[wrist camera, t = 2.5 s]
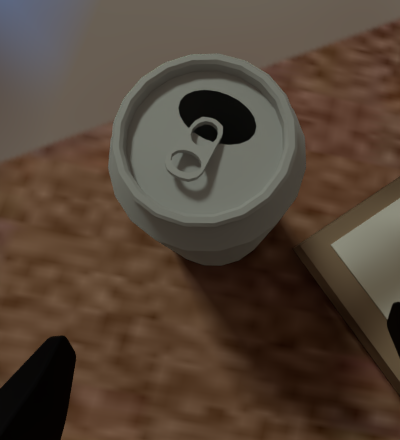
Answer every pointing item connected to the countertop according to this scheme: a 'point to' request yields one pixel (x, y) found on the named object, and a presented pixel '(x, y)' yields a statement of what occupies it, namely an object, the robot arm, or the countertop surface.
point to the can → (207, 156)
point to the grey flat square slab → (362, 271)
